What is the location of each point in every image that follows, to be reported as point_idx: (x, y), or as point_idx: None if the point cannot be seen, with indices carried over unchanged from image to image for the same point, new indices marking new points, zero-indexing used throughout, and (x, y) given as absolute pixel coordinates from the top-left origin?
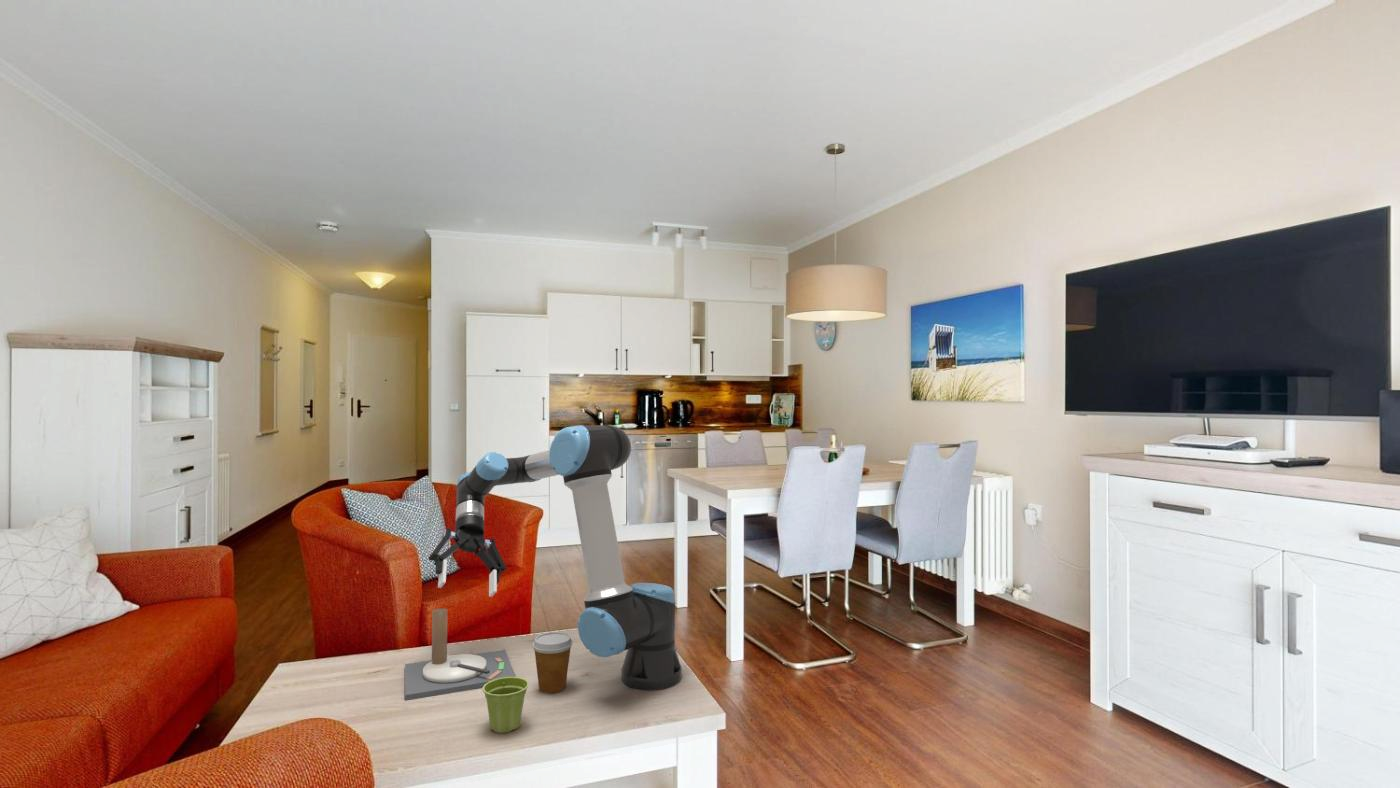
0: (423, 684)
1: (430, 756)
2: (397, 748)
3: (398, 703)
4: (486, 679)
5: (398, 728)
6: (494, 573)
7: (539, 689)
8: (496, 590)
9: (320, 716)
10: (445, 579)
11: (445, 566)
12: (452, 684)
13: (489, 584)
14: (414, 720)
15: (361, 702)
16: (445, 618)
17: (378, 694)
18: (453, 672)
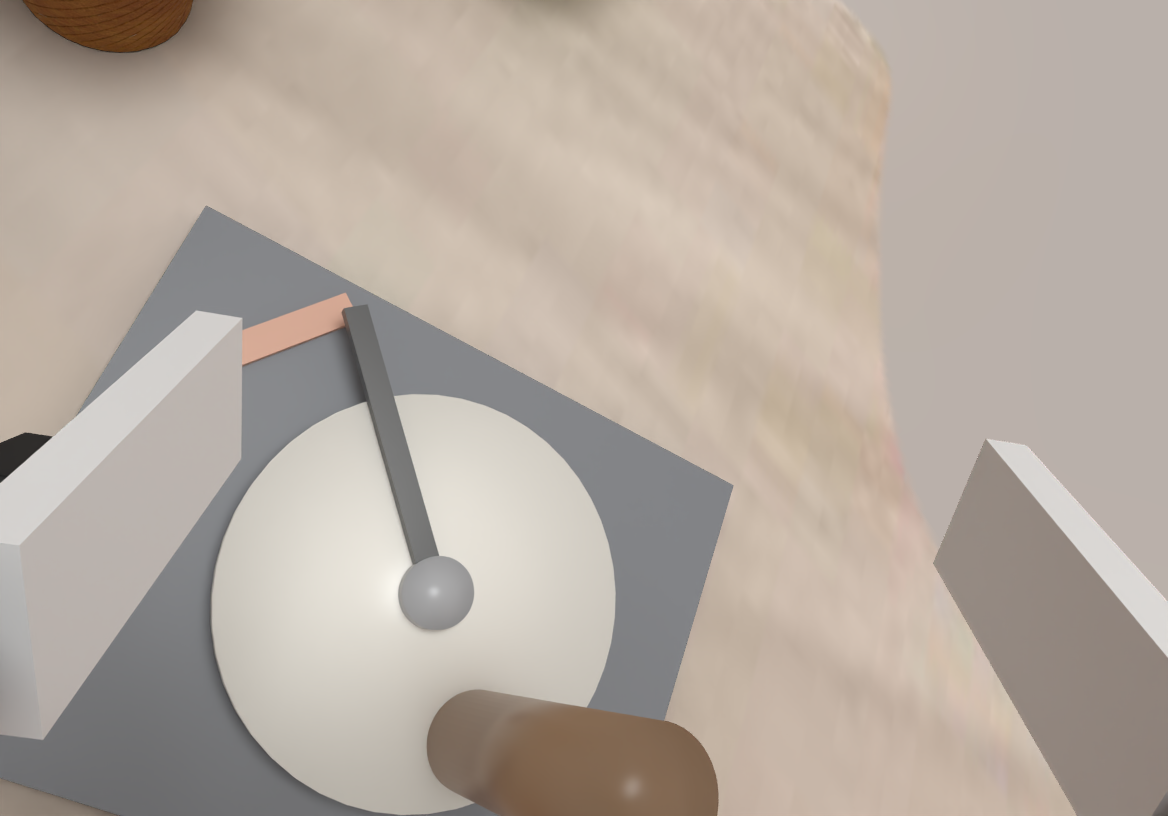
0: (629, 542)
1: (789, 9)
2: (845, 141)
3: (746, 481)
4: None
5: (807, 265)
6: (70, 478)
7: (186, 16)
8: (191, 320)
9: None
10: (1009, 462)
11: (1140, 606)
12: (525, 417)
13: (159, 560)
14: (748, 274)
15: (850, 621)
16: (591, 720)
17: (781, 657)
18: (493, 491)
